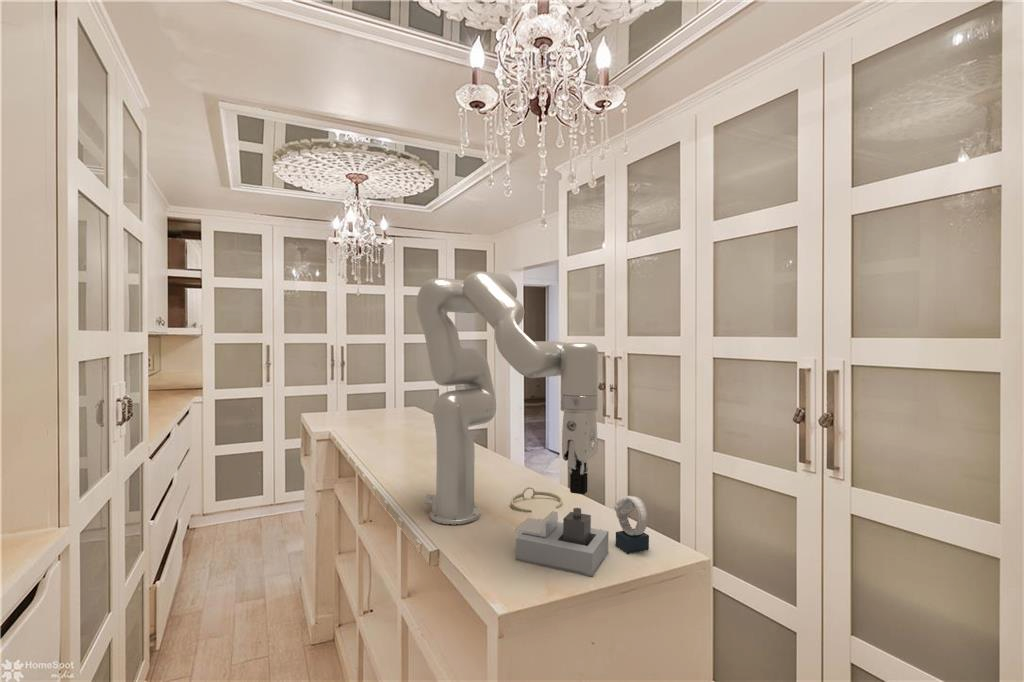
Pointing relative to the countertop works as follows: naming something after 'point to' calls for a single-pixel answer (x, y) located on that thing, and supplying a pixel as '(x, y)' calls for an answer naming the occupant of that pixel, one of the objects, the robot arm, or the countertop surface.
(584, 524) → the plug
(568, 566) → the socket box
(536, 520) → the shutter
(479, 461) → the countertop surface
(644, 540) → the watch
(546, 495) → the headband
